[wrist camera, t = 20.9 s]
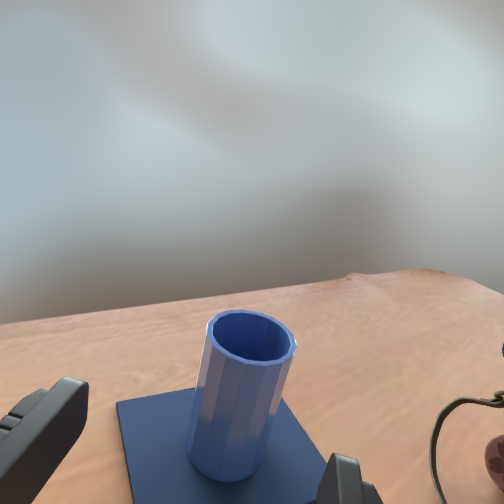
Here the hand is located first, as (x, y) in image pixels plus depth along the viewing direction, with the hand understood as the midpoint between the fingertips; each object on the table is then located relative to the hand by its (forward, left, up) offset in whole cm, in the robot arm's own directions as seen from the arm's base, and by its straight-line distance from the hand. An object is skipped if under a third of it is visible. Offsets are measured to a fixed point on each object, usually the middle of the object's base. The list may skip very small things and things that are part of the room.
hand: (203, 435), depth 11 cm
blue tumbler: (+7, +9, -14) cm, 18 cm away
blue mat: (+7, +9, -14) cm, 18 cm away
